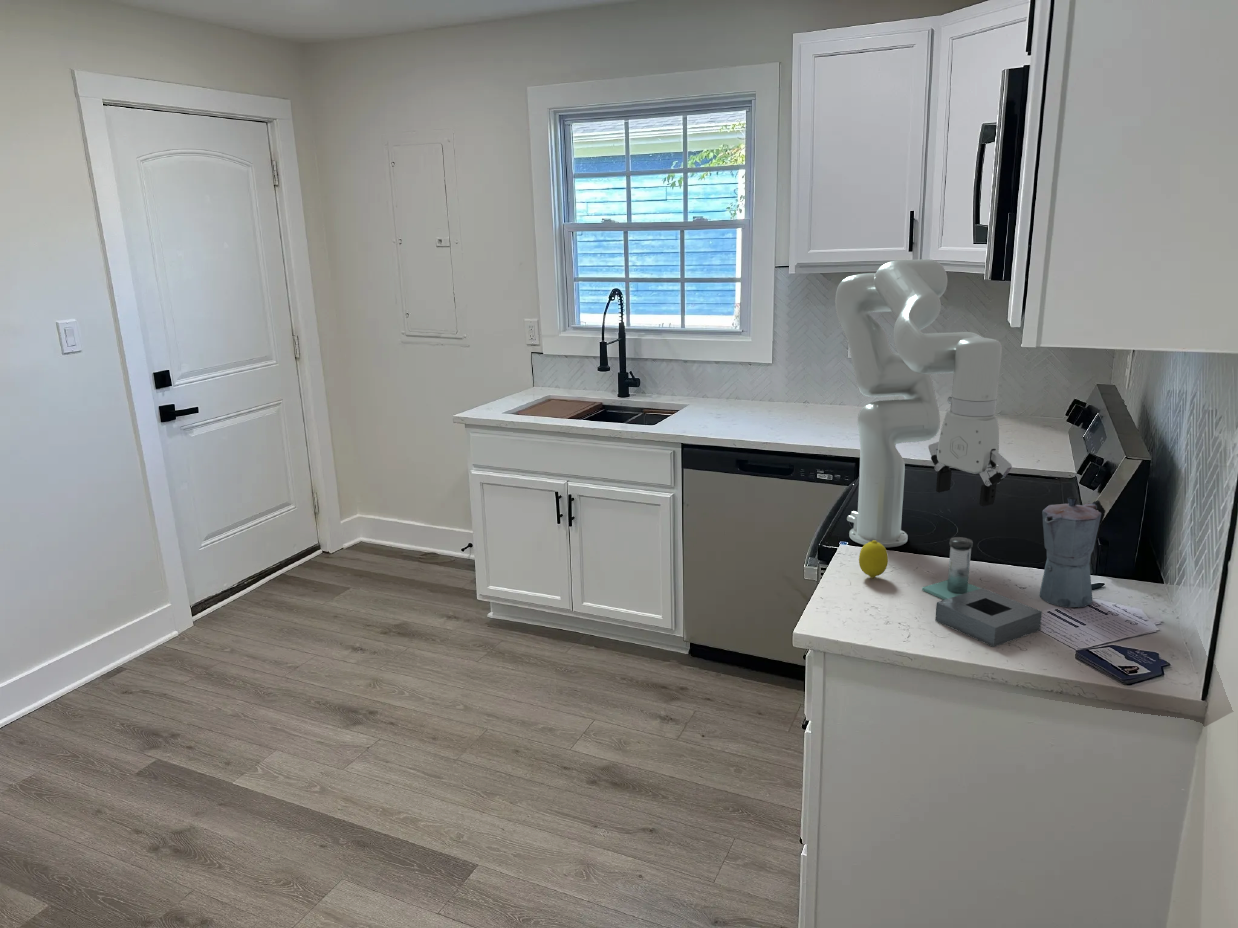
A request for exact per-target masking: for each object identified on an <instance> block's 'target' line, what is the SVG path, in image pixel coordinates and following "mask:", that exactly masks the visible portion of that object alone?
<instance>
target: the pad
mask: <svg viewBox="0 0 1238 928" xmlns="http://www.w3.org/2000/svg"><path fill="white" fill-rule="evenodd" d="M947 584H948V579H946V580H942V581H940V582H936V583H932V584H929V585H926V586H923V587H921V588H922V589H921V591H923V592H925V593H927V594H929V595H932V596H935V597H936V598H939V599H942V600H945V599H949V598H952V597H955V596H958V595H961V594H955V593H951V592H949V591H948V590H947ZM980 588H981V587H978V586H976V585H974V584H971V583H969V582H968V591H967V593H968V592H971V591H974V590H977V589H980Z"/></svg>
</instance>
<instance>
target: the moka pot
mask: <svg viewBox="0 0 1238 928" xmlns="http://www.w3.org/2000/svg"><path fill="white" fill-rule="evenodd" d="M1077 500H1078V498H1077V497H1076V496H1069V497H1067V503H1061V504H1058V503H1057V504H1048V506H1046V507H1045V508H1044V509H1043V510H1042V511H1041V512H1042V513H1041V515H1042V527H1043V539H1044V540H1043V542H1044V548H1045V549H1046V561H1045V565H1044V571H1043V576H1042V580H1041V585H1040V589H1039V597H1040V598H1041V599H1042V601H1044V602H1046V603H1048V604H1051V605H1054V606H1057V607H1062V608H1069V607H1078V608H1084V607H1086V606H1089V605H1091V604H1092V603H1093V592H1092V577H1091V567H1090V566H1091V565H1090V563H1091V556H1092V553H1093V552H1094V549H1095V548H1096V544H1097V541H1098V538H1099V537H1098V536H1099V534H1100V530H1101V527H1102V523H1103V520H1104V519H1105V513H1106V509H1105V508H1104V507H1103V505H1102V504H1101V502H1100V500H1095V501H1093V502H1092V503H1091V502H1089V503H1088V502H1087V503H1084V504H1083V505H1082V504H1077Z"/></svg>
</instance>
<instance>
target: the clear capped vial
mask: <svg viewBox="0 0 1238 928" xmlns="http://www.w3.org/2000/svg"><path fill="white" fill-rule="evenodd" d="M973 544H974V542H973V540H972V539H970V538H967V537H963V536H961V537H960V536H955V537H953V536H952V537H951V538H950V539H949V546H950V547H949V548H950V550H949V559H948V560H949V562H948V573H947V575H948V576H947V580H948V584H947V590H948V591H949V592H951V593H955V594H965V593H967V591H968V583H969V579H970V567H971V566H970V565H971V564H970V563H971V557H972V556H971V554H972V548H973V546H974V545H973Z"/></svg>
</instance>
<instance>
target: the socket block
mask: <svg viewBox="0 0 1238 928" xmlns="http://www.w3.org/2000/svg"><path fill="white" fill-rule="evenodd" d="M979 588H980V589H977V590H974V591H971V592H968V593H965V594H961V595H958V596H955V597H952V598H949V599H945V600H944V599H942V600H939V601H936V605H935V606H936V607H935V618H934V619H935V622H938V623H940V624H942V625H943V626H946V627H949V628H951V629H953V630H954V631H957V632H959V633H961V634H964V635H966V636H968V637H970V638H973V639H974V640H977V641H979V642H981V643H984V644H986V645H988V646H990V647H993V648H995V647H998V646H1001V645H1003V644H1006V643H1009V642H1011V641H1015V640H1017V639H1020V638H1023V637H1025V636H1028V635H1031V634H1033V633H1037V632H1039V631H1040V630H1041V624H1042V616H1043V611H1042V610H1040V609H1037V608H1035V607H1033V606H1030V605H1028V604H1027V605H1026V604H1024V603H1022V602H1019V601H1017V600H1015V599H1012V598H1009V597H1006V596H1004V595H1002V594H999V593H996V592H994V591H992V590H989V589H987V588H984V587H979Z"/></svg>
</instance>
